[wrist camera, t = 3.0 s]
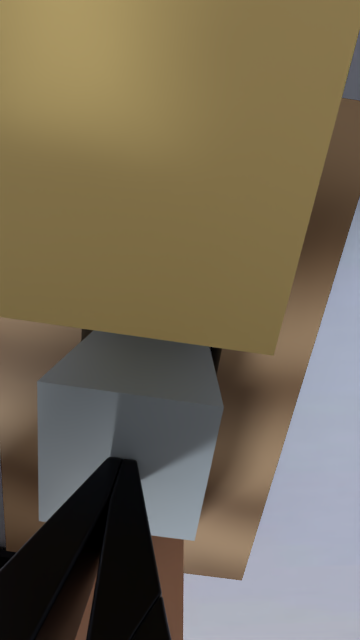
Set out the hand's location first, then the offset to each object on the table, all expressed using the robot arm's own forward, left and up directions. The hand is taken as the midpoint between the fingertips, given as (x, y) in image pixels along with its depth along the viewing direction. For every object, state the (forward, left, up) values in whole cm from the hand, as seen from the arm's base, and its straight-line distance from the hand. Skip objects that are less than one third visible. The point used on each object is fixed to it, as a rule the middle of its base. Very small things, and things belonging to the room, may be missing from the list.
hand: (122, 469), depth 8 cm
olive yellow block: (+8, 0, -4) cm, 8 cm away
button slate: (0, 0, -6) cm, 6 cm away
